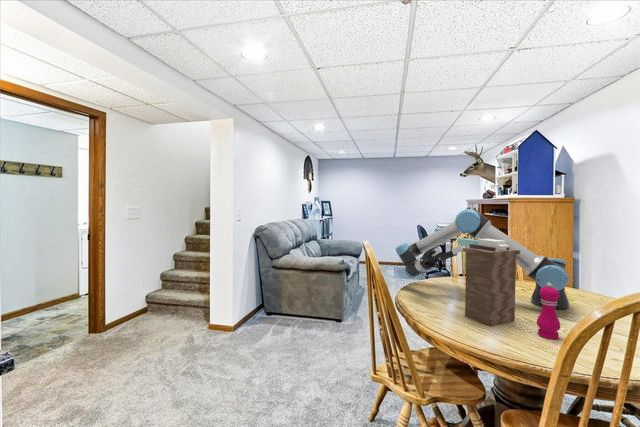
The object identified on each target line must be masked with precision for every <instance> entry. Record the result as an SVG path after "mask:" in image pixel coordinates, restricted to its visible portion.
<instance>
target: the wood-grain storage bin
mask: <svg viewBox="0 0 640 427" xmlns="http://www.w3.org/2000/svg"><path fill="white" fill-rule="evenodd" d="M462 248H463V250H462V253H463V252H464V253H465V290H464V291H465V295H464V298H465V299H464V300H465V302H464V304H465V305H464V317H465V318H468V319H471V320H473V321H475V322H477V323H480V324H481V325H485V326H487V327H492V326H497V325H502V324H507V323H513V322H515V321H516V319H515V317H516V316H515V314H516V313H515V312H516V280H517V279H516V276H517V275H516V274H517V272H516V271H517V270H516V268H517V264H516V254H520V250H513V249H509V248H507V249H506V251H495V247H488V246H481V245H474V244H469V247H462Z"/></svg>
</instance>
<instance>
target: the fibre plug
mask: <svg viewBox="0 0 640 427" xmlns="http://www.w3.org/2000/svg"><path fill="white" fill-rule="evenodd" d="M469 244H474V245H481V246H488V247H495V251H506V249H507V248H509V245H507V241H503V240H495V239H480V238H477V239H475V238H473V239H471V238H464V237H463V238H462V237H461V238H460V237H459V238H457V245H458V246H459V245H461V246H462V247H467V248H469Z"/></svg>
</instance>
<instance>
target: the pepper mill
mask: <svg viewBox="0 0 640 427" xmlns="http://www.w3.org/2000/svg"><path fill="white" fill-rule="evenodd" d="M546 285H547V287H543V288H541V289H540V292H539V294H540V296H541V297H542V299H541V303H542V306H541V311H540V314H539V315H538V316H537V320H536V325H537V326H538V327H539V328H538V330H537V335H538V336H540V337H542V338H545V339H548V340H558V339H559V335H560V334H559V330H561V323H560V320H559V317H558V315H557V313H556V309H555V308H556V305H557V301H556V300H557V299H558V298H559V292H558V291H557V290H556V289H555V288H553V287H552V284H551V283H547V284H546Z"/></svg>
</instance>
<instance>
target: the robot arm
mask: <svg viewBox="0 0 640 427" xmlns="http://www.w3.org/2000/svg"><path fill="white" fill-rule="evenodd" d="M461 234H463V235H466V234H467V235H469V236H470V237H471V238H473V239H474V240H478V239H495V240H503V241H507V245H509V249H513V250H520V254H516V266H519V267H520V268H522V269H523V270H524V271H525V275H526V276H527V277H529V278H530V279H532V280H533V281H535V288H534V290H533V293H532V295H531V298H530V299H531V300H530V301H531V302H530V303H532V304H533V305H535V306H538V307H542V303H541V299H542V297H541V296H540V294H539V292H540V289H541V288H543V287H547V285H546V284H547V283H551V284H552V287H553V288H555V289H556V290H557V291H558V292H559V298H558V299H557V300H556V301H557V305H556V308H555V310H567V309H569V308H570V302H569V298H568V297H567V294H566V287H567V285H568V283H569V275H568V272H567V271H566V267H567V264H566V260H565V259H562V258H552V257H546V256H545V255H537V254H536V253H534V252H533V251H531V250H530V249H528V248H526V247H525V246H524V245H522V244H521V243H519V242H518V241H516V240H514V239H513V238H512V237H510V236H509V235H508V234H506V233H504V232H502V231H501V230H500V229H498V228H496V227H495V226H494V225H492V223H491V219H489V218H488V217H485V216H484V215H483V213H482V212H481V211H480V210H477V209H476V208H475V209H474V208H465V209H462V210H460V212H459V213H457V215H456V216H455V219H454V221H453V222H451V223H450V224H447V225H446V226H444V227H442V228H440V229H439V230H436V231H434V232H432V233H431V234H429V235H427V236H425V237H424V238H421V239H420V240H418V241H416V242H414V243H411V245H408V244H407V243H406V242H403V243H401V244H399V245H398V246H397V247H395V251H396V253H397V256H398V257H399V258H400V260H401V261H402V263H403V265H404V273H405V275H406V276H407V277H408V278H411V279H413V278H415V277H418V276H419V275H421V274H423V273H426V272H427V271H428V270H431V269H432V268H434V267H435V266H436V263H438V262H443V261H445V260H448V259H450V258H454V257H456V256H458V253H460V252H463V248H464V247H463V246H461V245H458V246H456V247H454V248H451V250H449V251H447V252H444V253H441V252H443V251H442V248H441V246H440V245H441V244H444V243H446V242H448V241H449V240H451V239H454V238H455V237H457V236H460V235H461ZM433 248H434V249H433ZM430 250H431V251H430ZM427 251H428V252H427ZM420 255H422V256H421V257H419V256H420ZM417 257H419V258H417Z"/></svg>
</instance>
